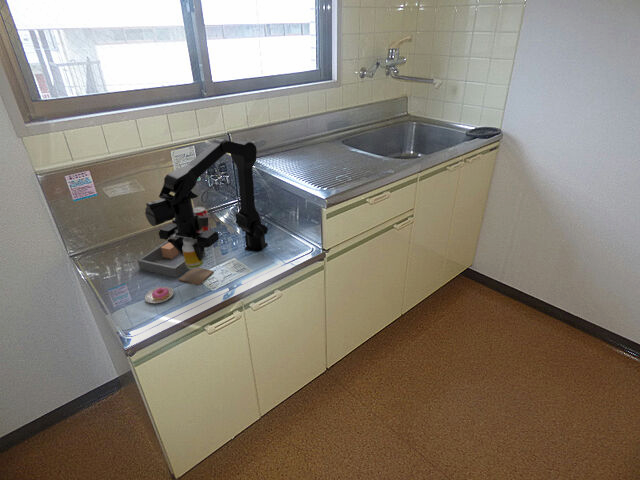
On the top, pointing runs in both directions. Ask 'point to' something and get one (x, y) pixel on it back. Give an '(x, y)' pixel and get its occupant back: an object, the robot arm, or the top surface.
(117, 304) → the top surface
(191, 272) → the walnut coaster
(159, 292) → the donut
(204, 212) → the soda can
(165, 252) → the terracotta cube
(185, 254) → the supplement bottle
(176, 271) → the bin rim
